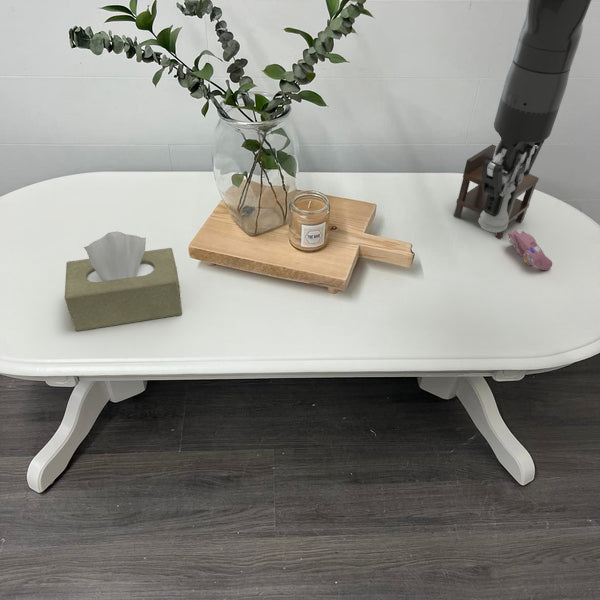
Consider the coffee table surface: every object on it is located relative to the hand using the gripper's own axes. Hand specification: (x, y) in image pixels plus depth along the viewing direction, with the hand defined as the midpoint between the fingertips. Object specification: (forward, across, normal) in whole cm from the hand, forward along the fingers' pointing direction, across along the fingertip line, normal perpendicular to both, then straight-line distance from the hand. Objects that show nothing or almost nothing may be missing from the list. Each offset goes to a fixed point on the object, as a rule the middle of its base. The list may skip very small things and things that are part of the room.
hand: (497, 208), depth 87 cm
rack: (+24, +32, +14) cm, 42 cm away
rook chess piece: (+3, 0, 0) cm, 3 cm away
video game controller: (+24, +25, +1) cm, 35 cm away
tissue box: (+24, -41, +45) cm, 65 cm away
